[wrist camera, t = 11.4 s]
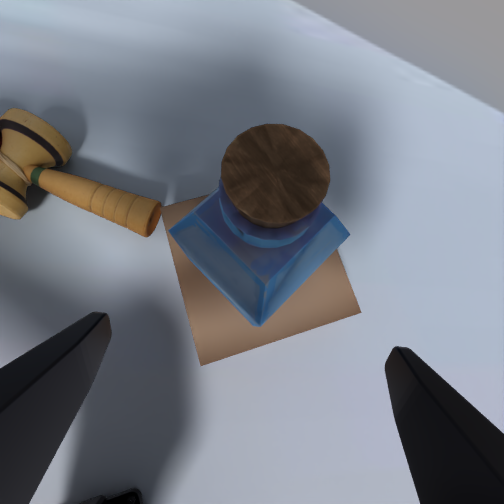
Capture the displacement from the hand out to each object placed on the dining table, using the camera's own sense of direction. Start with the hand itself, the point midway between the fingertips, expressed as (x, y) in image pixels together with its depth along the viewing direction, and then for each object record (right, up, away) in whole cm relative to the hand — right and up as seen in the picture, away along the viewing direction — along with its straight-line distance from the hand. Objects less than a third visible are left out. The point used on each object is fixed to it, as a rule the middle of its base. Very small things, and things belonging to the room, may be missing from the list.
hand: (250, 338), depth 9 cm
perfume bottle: (0, +2, +11) cm, 11 cm away
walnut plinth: (0, +1, +14) cm, 14 cm away
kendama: (-16, +8, +15) cm, 24 cm away
